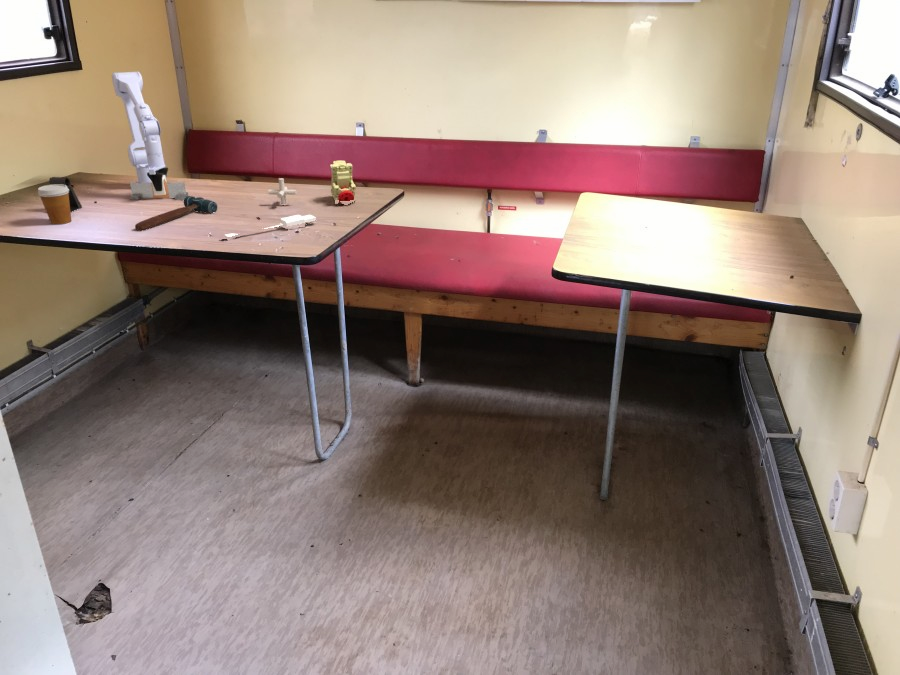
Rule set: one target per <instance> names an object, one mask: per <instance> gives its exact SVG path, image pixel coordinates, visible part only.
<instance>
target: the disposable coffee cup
mask: <svg viewBox="0 0 900 675" xmlns="http://www.w3.org/2000/svg"><path fill="white" fill-rule="evenodd" d="M68 193H69V189H68V188H67V186H66V185H63V184H54V185H50V184H46V185H42V186H39V187H38V189H37V195H38V196H39V198H40V200H41V202H42V204H43V207H44V209H45V212H46V214H47V216H48V219H49V222H50V224H52V225H65V224H68V223H71V222H72V216H71V213H72V212H70V203H69V194H68Z"/></svg>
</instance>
